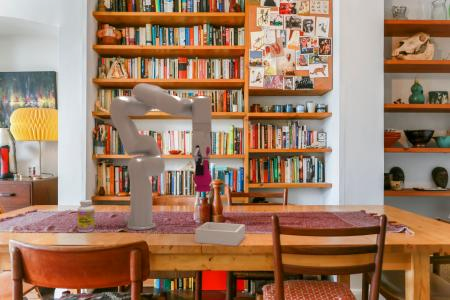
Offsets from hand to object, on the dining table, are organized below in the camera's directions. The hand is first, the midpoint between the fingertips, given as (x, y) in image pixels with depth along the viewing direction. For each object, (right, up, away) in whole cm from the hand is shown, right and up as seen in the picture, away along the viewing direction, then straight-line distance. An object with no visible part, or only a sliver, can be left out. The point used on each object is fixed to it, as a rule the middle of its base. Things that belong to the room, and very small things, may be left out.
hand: (202, 174), depth 141 cm
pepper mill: (0, -7, 0) cm, 7 cm away
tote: (+7, -25, -2) cm, 26 cm away
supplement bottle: (-50, -25, +12) cm, 58 cm away
